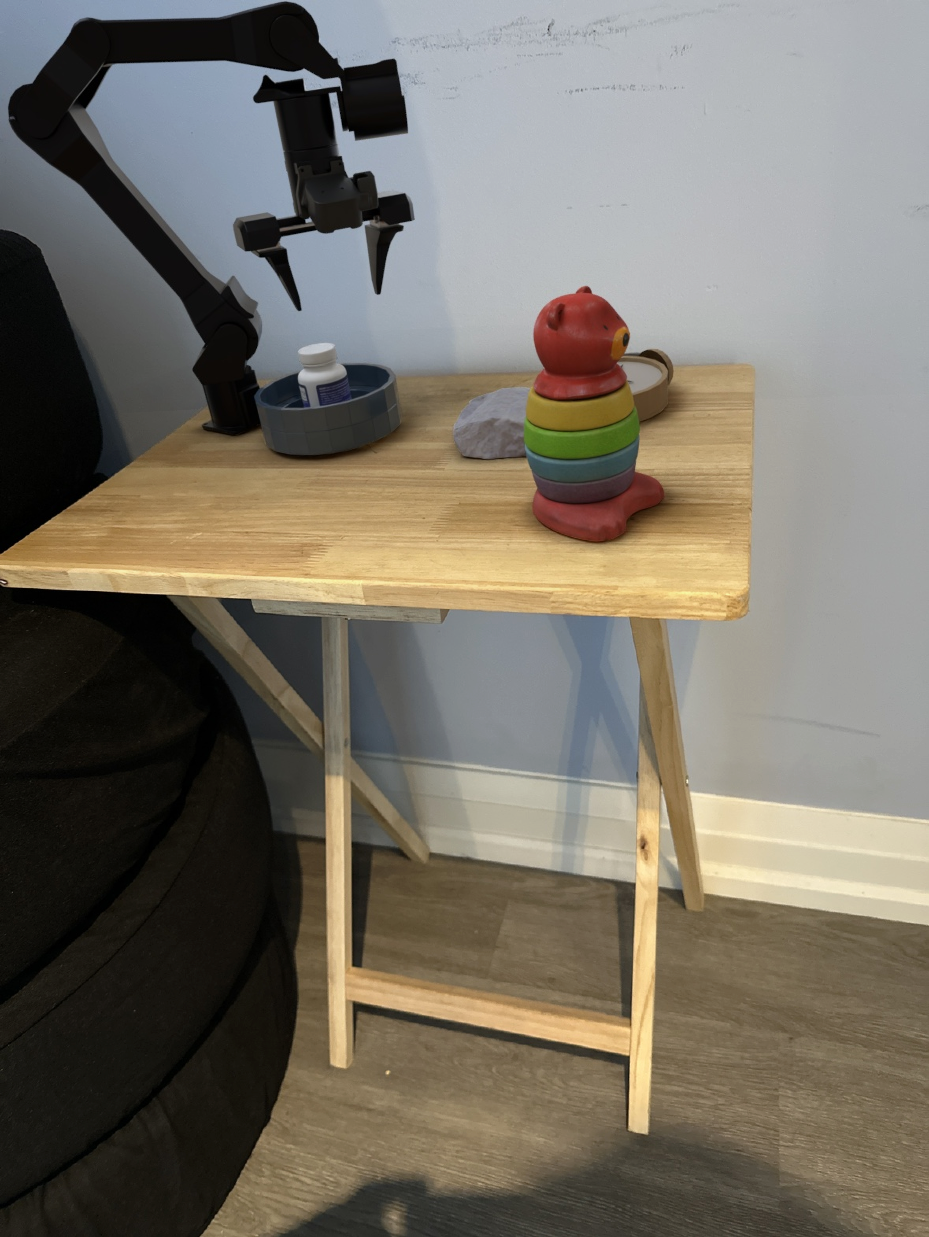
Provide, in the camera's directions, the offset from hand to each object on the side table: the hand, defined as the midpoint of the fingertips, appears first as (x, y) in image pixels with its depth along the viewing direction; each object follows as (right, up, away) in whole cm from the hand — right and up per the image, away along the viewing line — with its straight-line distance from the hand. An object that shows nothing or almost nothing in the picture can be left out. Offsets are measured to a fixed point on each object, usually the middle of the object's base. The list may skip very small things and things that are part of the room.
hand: (339, 302), depth 104 cm
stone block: (+18, -17, -8) cm, 26 cm away
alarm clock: (+31, -12, -3) cm, 33 cm away
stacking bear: (+25, -26, -25) cm, 44 cm away
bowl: (0, -15, -1) cm, 15 cm away
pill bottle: (0, -15, -1) cm, 15 cm away
